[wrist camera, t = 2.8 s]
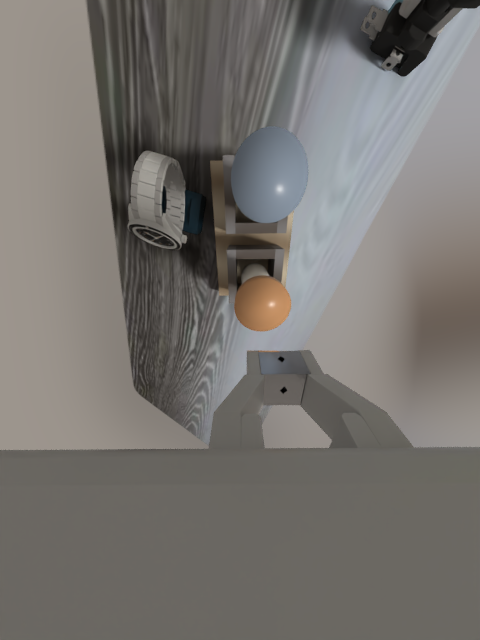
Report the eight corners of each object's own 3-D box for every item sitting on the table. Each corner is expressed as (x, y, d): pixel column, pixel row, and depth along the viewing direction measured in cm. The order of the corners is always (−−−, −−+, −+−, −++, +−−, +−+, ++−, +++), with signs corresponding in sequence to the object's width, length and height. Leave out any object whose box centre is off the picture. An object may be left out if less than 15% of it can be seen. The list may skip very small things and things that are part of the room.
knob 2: (236, 258, 21) (233, 279, 13) (273, 257, 21) (294, 279, 13) (236, 293, 23) (235, 331, 15) (271, 293, 23) (287, 331, 15)
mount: (212, 165, 22) (201, 143, 16) (294, 164, 22) (315, 141, 16) (220, 291, 30) (215, 309, 23) (281, 290, 30) (292, 308, 23)
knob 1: (234, 171, 17) (229, 126, 9) (280, 170, 17) (315, 125, 9) (235, 223, 20) (232, 223, 11) (276, 222, 20) (301, 222, 11)
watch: (160, 237, 26) (113, 246, 16) (163, 167, 22) (104, 124, 13) (199, 247, 27) (176, 262, 17) (209, 181, 23) (186, 151, 13)
